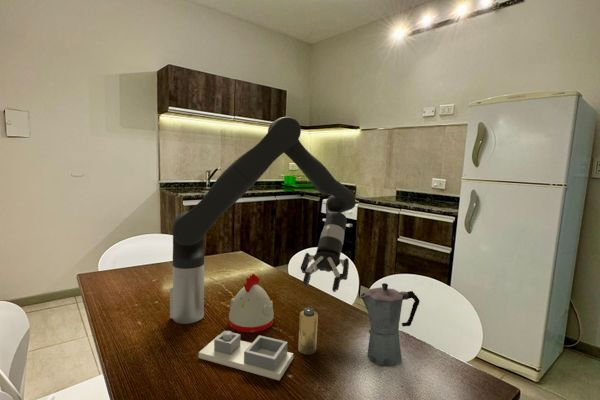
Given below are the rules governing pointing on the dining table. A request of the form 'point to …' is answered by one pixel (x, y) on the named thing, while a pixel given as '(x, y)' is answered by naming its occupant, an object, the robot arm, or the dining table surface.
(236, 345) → the white tray
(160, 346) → the dining table surface
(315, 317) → the gold bottle
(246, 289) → the kitchen timer
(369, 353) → the moka pot
